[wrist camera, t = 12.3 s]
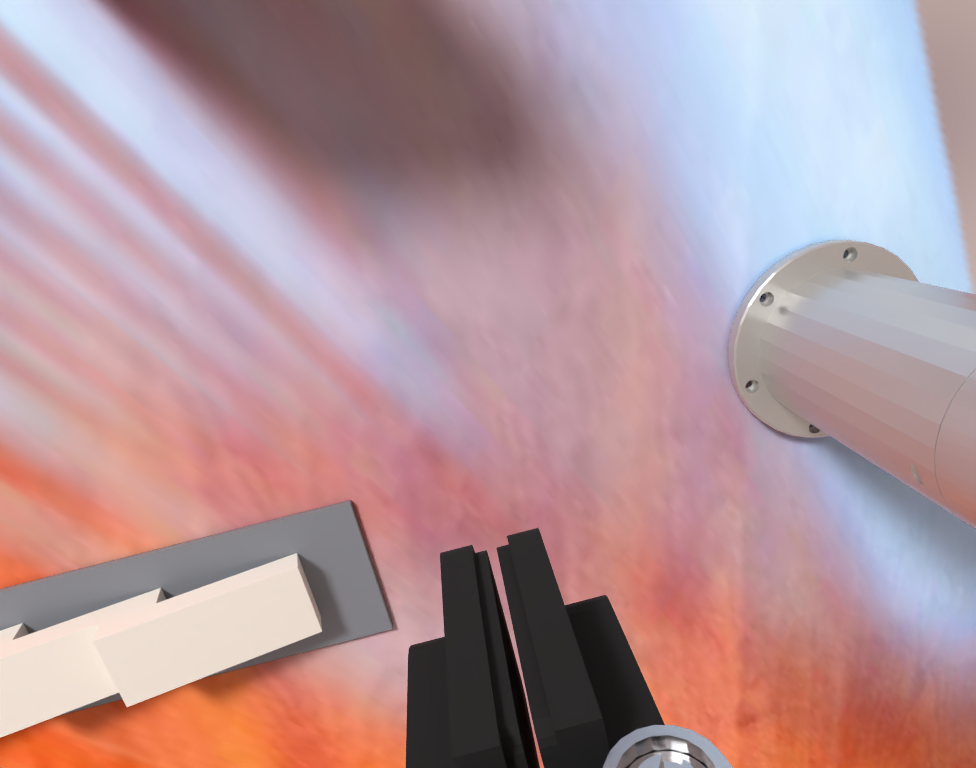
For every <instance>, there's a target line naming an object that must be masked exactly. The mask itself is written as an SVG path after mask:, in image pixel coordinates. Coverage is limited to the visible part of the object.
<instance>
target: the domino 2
mask: <svg viewBox="0 0 976 768" xmlns="http://www.w3.org/2000/svg"><path fill="white" fill-rule="evenodd" d="M320 632H322V624H321V615H320V612H319V610H318V607H317V604H316V602H315V599H314V597H313V594H312V591H311V589H310V586H309V583H308V581H307V578H306V575H305V573H304V570H303V568H302V565H301V562H300V560H299V557H298V554H297V553H295V554H292V555H290V556H287V557H284V558H281V559H278V560H276V561H273V562H270V563H267V564H265V565H262V566H259V567H256V568H253V569H251V570H248V571H245V572H242V573H239V574H237V575H234V576H231V577H228V578H225V579H223V580H220V581H217V582H214V583H212V584H209V585H206V586H203V587H200V588H198V589H195V590H192V591H189V592H186V593H184V594H181V595H178V596H175V597H172V598H170V599H167V600H164V601H161V602H159V603H156V604H153V605H150V606H147V607H145V608H142V609H139V610H136V611H133V612H131V613H128V614H125V615H122V616H119V617H117V618H114V619H111V620H108V621H105V622H103V623H100V625H99V627H98V630H97V632H96V634H95V637H94V639H93V641H92V642H93V644H94V646H95V648H96V650H97V652H98V653H99V655H100V657H101V659H102V661H103V663H104V665H105V667H106V669H107V670H108V672H109V674H110V676H111V678H112V680H113V682H114V684H115V686H116V688H117V689H118V691H119V693H120V695H121V697H122V699H123V701H124V703H125V705H126V707H129V706H132V705H134V704H137V703H139V702H142V701H144V700H147V699H150V698H152V697H155V696H157V695H160V694H162V693H165V692H168V691H170V690H173V689H175V688H178V687H181V686H183V685H186V684H188V683H191V682H193V681H196V680H199V679H201V678H204V677H206V676H209V675H211V674H214V673H217V672H219V671H222V670H224V669H227V668H230V667H232V666H235V665H237V664H240V663H242V662H245V661H248V660H250V659H253V658H255V657H258V656H260V655H263V654H266V653H268V652H271V651H273V650H276V649H279V648H281V647H284V646H286V645H289V644H291V643H294V642H297V641H299V640H302V639H304V638H307V637H309V636H312V635H315V634H317V633H320Z"/></svg>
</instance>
